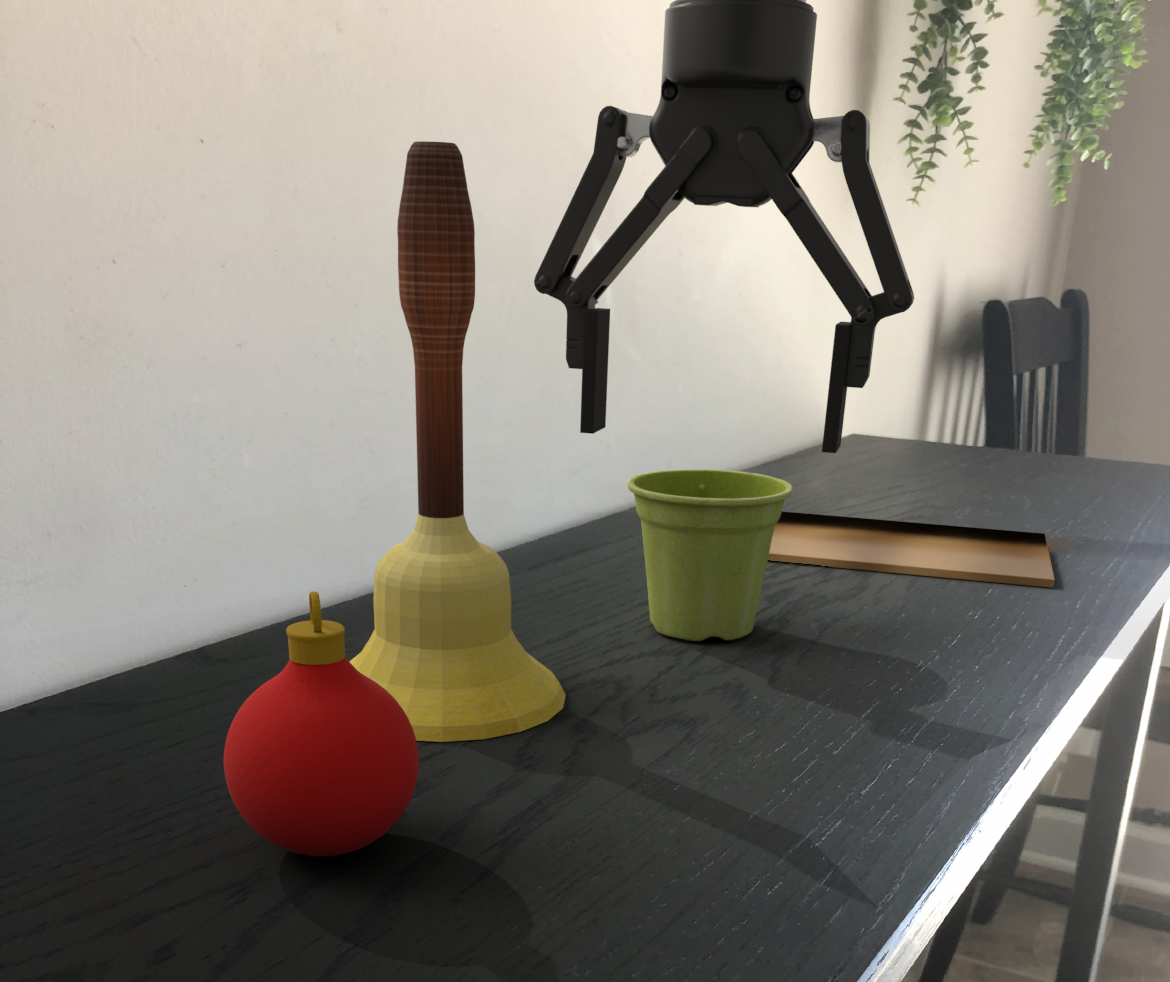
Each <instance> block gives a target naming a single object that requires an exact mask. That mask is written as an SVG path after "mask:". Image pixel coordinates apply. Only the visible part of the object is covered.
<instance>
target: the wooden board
mask: <svg viewBox="0 0 1170 982" xmlns="http://www.w3.org/2000/svg"><path fill="white" fill-rule="evenodd" d="M1049 551H1050V550H1049V546H1048V543H1047V537H1046V533H1044V532H1031V531H1020V530H1008V529H1007V530H1006V529H995V528H982V527H973V526H972V527H970V526H959V525H948V524H935V523H924V522H923V523H922V522H912V521H902V520H901V521H900V520H888V519H877V518H867V517H866V518H863V517H853V516H839V515H828V514H817V513H805V512H795V511H794V512H793V511H782V512H781V516H780V518H779V520H778V521H777V522H776V524H775V528H774V532H773V537H772V542H771V546H770V551H769V556H768V560H772V561H783V562H793V563H803V564H815V565H821V566H820V567H825V566H828V567H827V568H837V569H846V570H847V569H848V570H857V571H858V570H859V571H868V572H881V573H888V574H889V573H890V574H898V575H899V574H901V575H911V576H920V577H930V578H931V577H933V578H943V579H953V580H964V581H975V582H986V583H995V584H996V583H997V584H1008V585H1018V586H1028V587H1037V588H1038V587H1039V588H1050V589H1053V588H1054V587H1055V583H1056V579H1055V575H1054V570H1053V565H1052V561H1051V556H1050V552H1049ZM793 563H792V564H793ZM803 564H802V565H803Z"/></svg>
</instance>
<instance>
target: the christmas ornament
mask: <svg viewBox="0 0 1170 982" xmlns="http://www.w3.org/2000/svg"><path fill="white" fill-rule="evenodd" d="M308 597H309V598H308V600H309V601H308V602H309V616H310V617H309V618H310V620H301V621H298V622H295V623H291V624H290V625H288V626H287V627H286V631H285V632H286V635H287V642H288V643H287V645H288V657H289V659H288V662H287V663H286V665H285V667H284V668H283V669H282V670H281V671H280V672H279V673H278V674H276V675H275V676H274V677H271V678H270V679H269V680H267V681H265V682H264V683H263V684H261V685H260V686H259V687H258V688H257V689H256V690H254V691H253V692H252V693H251V694H250V695H249V696H248V697H247V698H246V699H245V701H244V702H243V703H242V705H241V706H240V707H239V708H238V710H237V712H236V714H235V715H234V717H233V719H232V721H231V724H230V726H229V729H228V731H227V734H226V739H225V743H224V751H223V771H224V777H225V784H226V786H227V790H228V793H229V795H230V798H231V800H232V801H233V804H234V806H235V808H236V810H237V812H239V814H240V815H241V817H242V818H243V820H244V821H245V822H246V823H247V824H248V825H249V826H250V827H251V828H252V829H253V830H254V831H255V832H256V833H257V834H258V835H259V836H260V837H261V838H263V839H265V840H266V841H267V842H269V843H271V844H273V845H274V846H277V847H279V848H280V849H282V850H285V851H288V852H291V853H294V854H299V855H303V856H310V857H334V856H340V855H344V854H348V853H352V852H355V851H358V850H360V849H363V848H364V847H366V846H368V845H370V844H372V843H374V842H376V841H377V840H378V839H379V838H381V837H382V836H384V835H385V834H386V833H387V832H388V831H389V830H390V829H391V828H392V827H393V826H395V824H396V823H397V822H398V820H400V818H401V816H402V815H403V814H404V812H405V810H406V809H407V807H408V805H409V803H410V801H411V799H412V797H413V795H414V791H415V788H416V785H417V780H418V775H419V759H420V757H419V756H420V755H419V748H418V741H416V738H415V734H414V731H413V728H412V726H411V723H410V721H409V719H408V717H407V715H406V714H405V712H404V710H403V709H402V708H401V706H400V705H399V703H398V702H397V701H396V700H395V698H394V697H393V696H392V695H391V694H390V693H389V692H388V691H387V690H386V689H384V688H383V687H382V686H380V685H379V684H378V683H376V682H375V681H373V680H372V679H370V678H368V677H367V676H365V675H363V674H362V673H360V672H359V671H358V670H357V669H356V668H355V667H354V666H353V665H352V664H351V663H350V662H349V661H350V660H349V659H348V658H347V656H346V646H345V633H346V628H345V626H344V625H342V623H340V622H337V621H333V620H328V619H327V620H325V619H322V608H321V607H322V606H321V599H320V594H319V592H318V591H315V590H314V591H310V592H309V594H308Z"/></svg>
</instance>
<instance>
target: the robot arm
mask: <svg viewBox="0 0 1170 982" xmlns="http://www.w3.org/2000/svg"><path fill="white" fill-rule="evenodd" d="M817 20H818V13H816V11H814V7H813V5H811V4H809V3H808V2H807V0H673V1H671V3H669V5H668V7H667V8H666V9H665V11H664V25H663V26H664V27H663V45H662V49H663V50H662V64H661V65H662V66H661V84H660V98H659V101H658V104H657V107H656V109H655V111H654V113H653V114H652V115H647V114H640V113H635V112H628V111H626V110H624V109H621V108H619V107H616V106H613V105H606V106H604V107H603V108H601V110H600V111H599V113H598V116H597V124H596V130H595V139H594V146H593V153H592V155H591V157H590V159H589V161H588V163H587V165H586V168H585V170H584V172H583V174H582V176H581V179H580V181H579V182H578V185H577V186H576V189H575V191H574V193H573V195H572V197H571V200H570V202H569V204H568V205H567V208H566V210H565V212H564V215H563V217H562V219H561V220H560V223H559V225H558V228H557V229H556V231H555V233H554V236H553V238H552V240H551V242H550V244H549V246H548V248H547V250H546V253H545V255H544V257H543V259H542V261H541V264H540V266H539V268H538V270H537V272H536V273H535V276H534V282H533V283H534V287H535V290H536V291H537V292H538V293H540V294H543V295H548V296H549V297H551V298H554V299H555V300H558V301H559V302H561V303H562V304H563V306H564V307H565V309H566V341H565V347H566V348H565V360H566V364H567V366H568V369H573V370H574V369H575V370H582V371H581V393H580V394H581V397H580V398H581V399H580V402H581V403H580V423H579V424H580V425H579V426H580V428H579V433H580V434H592V435H594V434H596V433H597V432H599V431H601V430H603V429H605V428H606V423H607V401H608V399H607V397H608V396H607V395H608V373H609V353H610V352H609V350H610V348H609V347H610V325H611V323H610V322H611V308H603V307H596V305H597V304H598V303H599V299H600V298H601V297H602V296H603V294H604V293H605V292H606V291H607V290H608V288H609V287H610V286H611V284H612V283H613V282H614V281H615V280H616V278H618V276H619V275H620V274H621V273H622V271H623V270H624V269H625V268H626V267H627V265H629V263H630V262H631V261H632V260H633V258H634V257H635V256H636V255H637V253H638V252H639V251H640V250H641V248H643V246H644V245H645V244H646V243H647V241H648V240H649V239H650V238H651V237H652V235H654V233H655V232H656V231H657V230H658V228H659V227H661V225H662V223H663V222H664V221H665V220H666V219H667V217H669V215H670V214H671V213H673V212H674V211H675V210H676V209H677V208H678V207H679V206H680V204H681V203H682V202H683V201H684V200H685V199H686V200H687V201H688V202H689V203H692V204H693V205H694V206H705V207H706V206H708V207H716V206H721V205H724V204H730V205H734V206H737V207H743V208H760V207H761V206H763V205H766V204H767V203H769V202H770V201H771V200H772V202H773V203H774V204H775V206H776V208H777V209H778V210H779V212H780V213H781V214H782V216H783V217H784V218H785V220H786V221H787V223H788V224H789V226H790V227H791V229H792V230H793V232H794V233H795V234H796V236H797V238H798V239H799V241H800V242H801V243H802V245H803V247H804V248H805V249H806V251H807V253H808V255H809V256H810V258H812V260H813V261H814V263H815V265H816V266H817V267H818V269H819V271H820V272H821V273H822V275H823V276H824V278H825V280H826V281H827V283H828V285H829V286H830V288H831V289H832V290H833V292H834V294H835V295H836V296H837V297H838V299H839V301H840V302H841V304H842V306H843V308H845V310H846V311H847V313H848V314H849V316H850V317H851V318H850V321H839V322H837V323H836V324H835V327H834V336H833V345H832V355H831V363H830V372H829V381H828V390H827V391H828V392H827V400H826V409H825V417H824V418H825V419H824V426H823V427H824V428H823V436H822V447H821V448H822V449H821V453H828V454H829V453H830V454H836V453H837V452H838V450H839V449H840V447H841V444H842V437H843V427H844V420H845V411H846V402H847V392H848V388H856V389H863V388H864V387H865V386H866V384H867V382H868V381H869V380H868V379H869V378H870V374H871V366H872V359H873V349H874V341H875V333H876V327H877V325H878V324H879V322H880V321H881V320H883V319H885V318H889V317H891V316H894V315H897V314H901V313H905V312H907V310H909V309H910V308H911V306H912V305H913V304H914V301H915V294H914V290H913V288H912V284H911V281H910V278H909V276H908V273H907V270H906V267H905V264H904V261H903V258H902V255H901V252H900V248H899V246H898V243H897V240H896V237H895V235H894V234H895V233H894V231H893V228H892V225H891V223H890V219H889V216H888V213H887V210H886V207H885V205H884V202H883V199H882V196H881V192H880V190H879V186H878V184H877V181H876V177H875V175H874V171H873V168H872V166H871V163H870V144H871V143H870V142H871V141H870V139H871V138H870V133H871V131H870V130H871V128H870V127H871V126H870V125H871V124H870V120H869V119H868V117H867V116H866V115H865V114H864V113H863V112H862V111H860V110H858V109H852V110H848V111H847V112H846V113H845V114H844V115H837V116H830V117H829V116H828V117H820V118H814V117H813V114H812V110H811V104H810V103H811V102H810V96H811V95H810V93H811V84H812V72H813V61H814V52H815V42H816V41H815V40H816V29H817ZM647 140H650V142H651V144H652V146H653V147H654V149H655V152H657V154H658V156H659V157H660V160H661V161H662V163H663V165H664V167H663V169H662V170H661V171H660V172H659V173H658V174H657V176H656V177H655V178H654V180H653V181H652V182H651V183H650V184H649V185H648V186H647V188H646V190H645V191H644V193H643V196H641V198H640V200H639V201H638V202H637V203H636V204H635V206H634V207H633V208H632V209H631V211H630V212H629V213H628V214H627V216H626V217H625V218H624V219H623V220H622V222H621V223H620V224H619V225H618V227H616V229H615V230H614V231H613V233H612V234H611V235H610V236H609V238H608V239H607V240H606V241H605V242H604V244H603V245H602V246H601V247H600V249H598V251H597V252H596V253H595V255H593V257H592V258H591V259H590V261H589V262H588V263H587V264H586V266H585V267H584V268H583V269H582V271H581V272H580V273H579V274H578V275H577V276H576V277H574V276H573V274H574V272H575V270H576V268H577V266H578V264H579V261H580V259H581V257H582V256H583V253H584V251H585V250H586V247H587V245H588V243H589V241H590V239H591V237H592V234H593V233H594V231H595V229H596V227H597V224H598V222H599V221H600V218H601V216H602V214H603V212H604V210H605V208H606V206H607V203H608V202H609V199H610V197H611V195H612V194H613V192H614V189H615V187H616V186H617V183H618V181H619V178H620V176H621V175H622V172H623V170H624V168H625V165H626V161H627V158H632V157H634V156H636V155H637V154H638V152H639V150H640V148H641V146H642V144H643V142H645V141H647ZM815 143H821V144H822V146H823V147H824V148H825V151H826V155H827V157H828V159H830V161H832V162H834V163H837V164H841V167H842V172H843V176H844V180H845V183H846V186H847V189H848V192H849V194H850V197H851V200H852V203H853V207H854V209H855V212H856V214H857V218H858V220H859V224H860V226H861V230H862V232H863V235H864V238H865V241H866V244H867V247H868V249H869V252H870V256H871V258H872V261H873V264H874V267H875V270H876V273H877V276H878V278H879V282H880V284H881V288H882V291H883V292H879V293H877V294H874V295H872V293H871V292H870V290H869V289H868V288H867V286H866V284H865V283H864V282H863V280H862V278H861V277H860V276H859V274H858V272H857V270H856V269H855V268H854V267H853V265H852V263H851V262H850V260H849V258H848V257H847V256H846V254H845V253H844V251H843V249H842V248H841V246H840V245H839V244H838V242H837V241H836V239H835V237H834V236H833V234H832V233H831V231H830V230H829V228H828V227H827V225H826V224H825V222H824V220H823V219H822V217H821V216H820V215H819V213H818V212H817V210H816V208H815V207H814V206H813V204H812V202H811V201H810V198H809V197H808V195H807V193H806V192H805V190H804V188H802V186H801V185H800V183H799V181H798V180H797V178H796V177H795V175H794V174H793V173H794V171H796V169H797V167H798V166H799V165H800V164H801V162H802V161H803V160H804V158H805V157H806V155H808V153H809V152H810V150H811V149H812V147H813V146H814V144H815Z"/></svg>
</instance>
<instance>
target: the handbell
mask: <svg viewBox="0 0 1170 982" xmlns="http://www.w3.org/2000/svg"><path fill="white" fill-rule="evenodd" d="M471 203H472V202H471V199H470V193H469V189H468V183H467V176H466V170H465V165H464V159H463V154H462V152H461V150H460V148H459V146H458V145H457V144H456V143H454V142H445V141H414V142H412V144H411V145H410V147H409V149H408V151H407V153H406V161H405V168H404V175H403V183H402V189H401V195H400V199H399V206H398V207H399V208H398V215H397V224H396V225H397V228H396V229H397V231H396V232H397V275H398V293H399V302H400V307H401V309H402V313H403V317H404V320H405V324H406V327H407V329H408V330H407V331H408V332H409V333H408V334H409V337H410V340H411V345H412V352H413V362H414V389H415V391H414V392H415V394H414V395H415V422H416V423H415V430H416V431H415V433H416V464H417V465H416V469H417V470H416V471H417V474H416V475H417V504H418V505H417V507H418V508H417V509H418V510H417V512H418V514H417V517H416V520H415V524H414V528H413V530H412V532H411V533H410V534H409V536H408V537H407V538H406V540H404V541H403V542H400V543H398V544H395V545H393V546H392V547H390V549H389V550H388V551H387V552H386V553H385V554H384V555H383V556H382V558H381V559H380V560H379V561H378V562H377V565H376V567H375V570H374V574H373V575H374V578H373V583H374V584H373V600H372V601H373V619H374V622H373V623H374V629H373V631H372V633H371V635H370V637H369V639H368V640H367V642H366V644H365V645H364V647H363V648H362V649H361V651H360V652H359V653H358V654H356V656H355V657H353V658H352V659H350V660H348V661H349V662H350V663H351V664H352V665H353V666H354V667H355V668H356V669H357V670H358V671H359V672H360V673H362V674H363V675H365V676H367V677H368V678H370V679H372V680H373V681H375V682H376V683H378V684H379V685H380V686H382V687H383V688H384V689H386V690H387V691H388V692H389V693H390V694H391V695H392V696H393V697H394V698H395V700H396V701H397V702H398V703H399V705H400V706H401V708H402V709H403V710H404V712H405V714H406V715H407V717H408V719H409V721H410V723H411V726H412V728H413V731H414V734H415V738H416V742H419V741H420V742H436V743H446V742H447V743H449V742H459V741H460V742H462V741H476V740H477V741H478V740H487V739H493V738H496V737H502V736H506V735H511V734H516V733H521V732H523V731H527V730H528V729H531V728H533V727H536V726H538V725H541V724H543V723H547V722H548V721H550V720H551V719H552V718H553V717H554V716H555V715H557V714H558V713H559V712H561V711H562V710H563V709H564V705H565V700H566V697H567V694H566V692H565V691H564V689H563V687H562V685H561V683H560V681H559V680H558V679H557V677H556V675H555V674H554V673H553V671H551V670H550V669H549V668H548V667H546V666H545V665H544V664H542V663H541V662H540V661H539V660H538V659H535V658H534V657H533V656H532V655H531V654H529V652H527V651H526V650H525V649H524V647H523V646H522V644H521V643H520V641H519V640H518V638H517V637H516V636H515V634H514V632H513V629H512V592H511V580H510V572H509V569H508V568H509V567H508V566H507V564H506V562H505V561H504V560H503V558H502V557H501V556H500V555H499V553H497V551H496V550H495V549H493V548H492V547H491V546H489V545H488V544H485V543H484V542H480V541H478V540H477V539H476V538H475V536H474V535H473V533H472V532H471V531H470V529H469V527H468V523H467V520H466V517H465V516H466V515H465V508H464V507H465V500H464V495H465V494H464V414H463V413H464V411H463V410H464V409H463V405H464V404H463V403H464V401H463V399H464V398H463V397H464V396H463V361H464V347H465V340H466V337H467V333H468V329H469V326H470V322H471V318H472V314H473V311H474V308H475V300H476V248H475V246H476V245H475V242H476V241H475V235H476V232H475V221H474V216H473V215H474V214H473V209H472V208H473V207H472V204H471Z"/></svg>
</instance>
